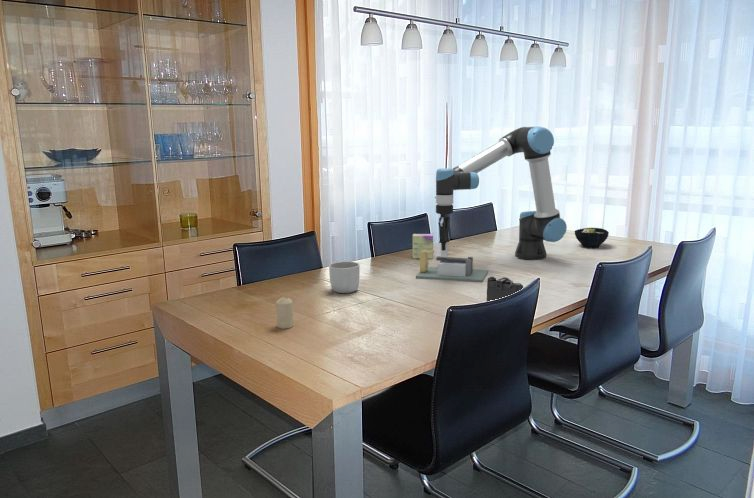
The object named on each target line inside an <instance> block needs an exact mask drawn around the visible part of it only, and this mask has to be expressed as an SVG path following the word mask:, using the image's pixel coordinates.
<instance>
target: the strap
mask: <svg viewBox="0 0 754 498" xmlns="http://www.w3.org/2000/svg"><path fill="white" fill-rule="evenodd" d="M435 259H436V260H435V261H438V262H440V261H452V262H465V263H466V259H470V260H471V261H472V259H471V258H468V257H466V258H465V257H452V256H447V258H444V257H441V255H440V256H439V255H438V256H436V258H435Z"/></svg>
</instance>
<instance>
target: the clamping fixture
mask: <svg viewBox="0 0 754 498" xmlns="http://www.w3.org/2000/svg"><path fill="white" fill-rule="evenodd" d="M467 258H471V259H472V261H471V260H470V259H466V263H465V262H452V261H438V263H437V267H436V266H428V270H427V271H426V272H420V271H419V272H418V273H417V274H416V275H415V279H423V280H437V281H438V280H440V281H441V280H442V281H457V282H468V283H469V282H470V283H471V282H473V283H474V282H475V283H483V282H484V280H485V278H486V276H487V275H488V273H489V269H475V268H474V257H473V256H467Z"/></svg>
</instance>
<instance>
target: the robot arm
mask: <svg viewBox="0 0 754 498" xmlns="http://www.w3.org/2000/svg"><path fill="white" fill-rule="evenodd" d="M554 144H555V139H554V135H553V133H552V131H551V130H550V129H548V128H546V127H543V126H523V127H518V128H517V129H514V130H512V131H510V132H509V133H507V134H506V135H503V136H502V137H500V138H499V139H498V142H496V143H494V144H492V145H491V146H489V147H487V148H486V149H484V150H482V151H480V152H479V153H477V154H476V155H474V156H472V157H471V158H468V159H467V160H465V161H464V162H462V163H460V164H458V165H457V166H455V167H453V168H449V167H448V168H438V169H436V171H435V196H434V199H435V204H436V205H435V214H438V215H440V217H439V218H438V231H439V232H438V233H439V235H438V237H439V241H438V244H440V257H444V258H447V257H448V243H450V240H449V238H450V237H449V235H450V222H451V218H450V215H451V214H453V213H454V205H453V204H454V191H460V190H461V191H462V190H476V189H477V188H478V187H479V183H480V177H479V174H478V173H480V172H482V171H483V170H485V169H487V168H488V167H490V166H491V165H494V164H495V163H497V162H499V161H500V160H502V159H504V158H505V157H511V156H513V155H515V154H519V153H523V155H524V156H523V157H524V160H526V162H528V164H529V165H528V166H529V170H530V171H529V173H530V179H531V184H532V190H533V198H534V203H535V209H536V210H528V211H521V212H520V214H519V223H518V225H519V226H518V227H519V228H518V243H517V246H516V248H515V251H514V257H515V258H517V259H520V260H529V261H533V260H534V261H537V260H544V259H546V258H547V251H546V248H545V244H544V241H545V242H551V243H556V242H559V241H560V240H562V239H563V238H564V235H566V232H567V229H568V227H567V223H566V220H564V219H563V218H561V213H560V210H559V209H557V208H556V203H555V196H554V191H553V183H552V176H551V169H550V165H549V158H550V156H551V155H552V153H551V151H552V149H553V146H554Z"/></svg>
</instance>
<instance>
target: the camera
mask: <svg viewBox="0 0 754 498" xmlns="http://www.w3.org/2000/svg"><path fill="white" fill-rule="evenodd" d="M486 283H487V284H486V285H487V287H486V302H487V301H490V300H495V299H499V298H502V297H505V296H508V295H511V294H513V293H515V292H517V291H519V290H521V289H522V288H523V289H524V285H523V284H522V283H520V282H515V283H514V281H513V280H511V279H510V278H508V277H506V276H505V277H504V276H503V277H502V278H497V277H495V276H489V277H487V281H486Z"/></svg>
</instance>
